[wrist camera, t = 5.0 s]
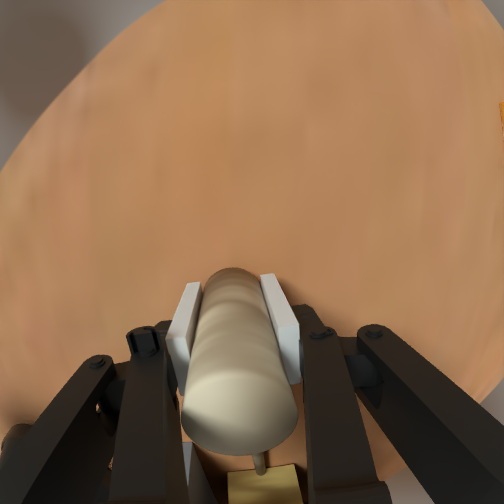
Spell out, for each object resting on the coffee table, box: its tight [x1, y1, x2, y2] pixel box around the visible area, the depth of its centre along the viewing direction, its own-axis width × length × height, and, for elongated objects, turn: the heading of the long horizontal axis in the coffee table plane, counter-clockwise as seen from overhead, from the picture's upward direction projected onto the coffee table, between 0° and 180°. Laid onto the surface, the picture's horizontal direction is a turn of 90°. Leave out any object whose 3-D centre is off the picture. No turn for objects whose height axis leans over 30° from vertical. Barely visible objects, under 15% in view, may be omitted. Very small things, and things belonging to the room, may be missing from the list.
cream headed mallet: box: [181, 268, 303, 504], centre depth 15 cm, size 6×25×10 cm, turn 6°
